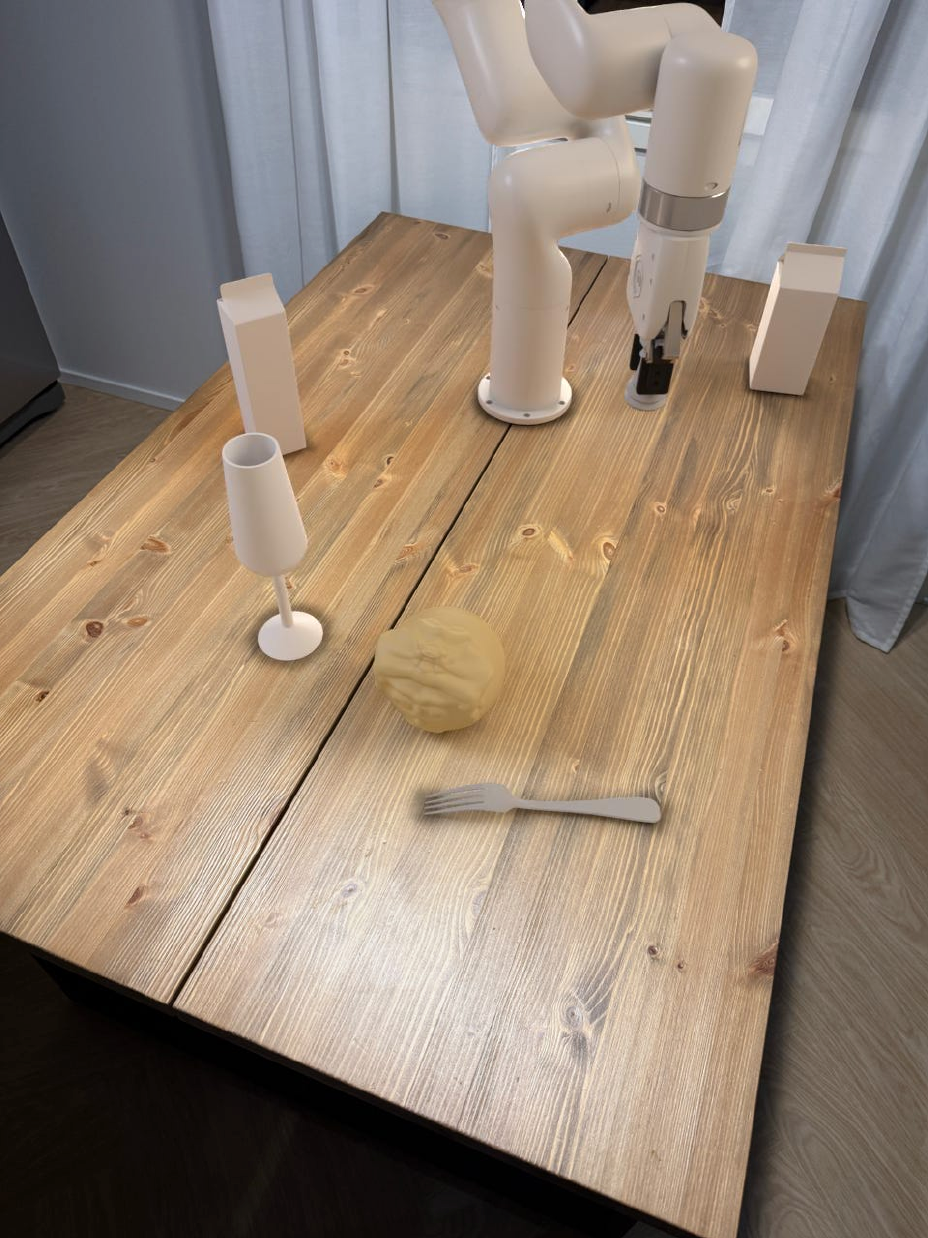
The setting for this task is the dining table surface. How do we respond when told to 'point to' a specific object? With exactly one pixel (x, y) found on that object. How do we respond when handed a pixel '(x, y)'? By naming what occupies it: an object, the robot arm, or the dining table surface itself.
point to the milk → (262, 360)
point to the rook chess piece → (643, 401)
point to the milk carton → (795, 317)
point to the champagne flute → (269, 536)
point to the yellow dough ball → (440, 668)
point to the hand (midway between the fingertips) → (648, 379)
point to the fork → (547, 803)
